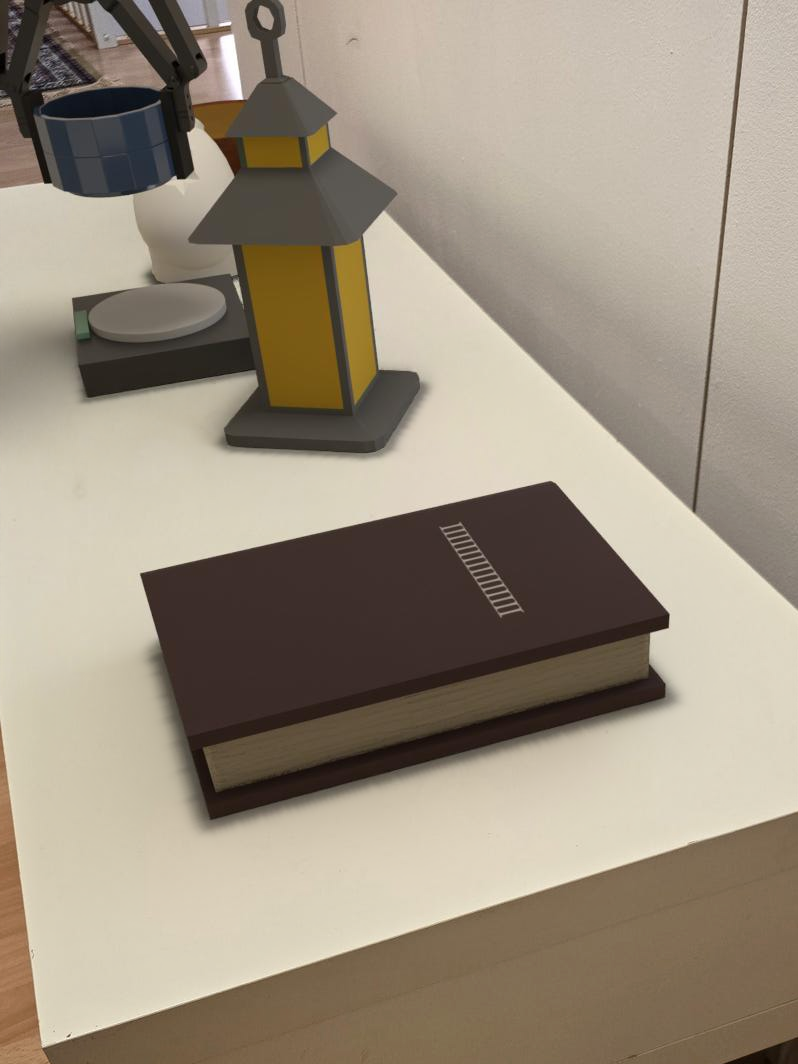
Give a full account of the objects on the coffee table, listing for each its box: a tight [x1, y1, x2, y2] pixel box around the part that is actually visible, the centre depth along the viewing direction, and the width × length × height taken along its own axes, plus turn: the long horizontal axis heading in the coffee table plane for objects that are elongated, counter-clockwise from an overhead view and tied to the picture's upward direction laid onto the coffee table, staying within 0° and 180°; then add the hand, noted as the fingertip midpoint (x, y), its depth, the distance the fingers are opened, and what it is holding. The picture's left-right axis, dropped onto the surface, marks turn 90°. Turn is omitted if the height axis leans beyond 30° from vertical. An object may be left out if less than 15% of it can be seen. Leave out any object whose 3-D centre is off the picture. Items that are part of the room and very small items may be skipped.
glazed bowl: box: [33, 84, 176, 199], centre depth 103 cm, size 11×11×6 cm
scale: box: [71, 274, 255, 398], centre depth 118 cm, size 16×18×4 cm
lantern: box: [188, 0, 421, 453], centre depth 96 cm, size 14×14×30 cm
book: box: [139, 480, 671, 820], centre depth 76 cm, size 28×20×6 cm
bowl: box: [192, 99, 248, 177], centre depth 146 cm, size 18×18×10 cm
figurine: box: [132, 118, 238, 284], centre depth 128 cm, size 11×11×15 cm
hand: (119, 177), depth 105 cm, fingers closed on glazed bowl, 11 cm apart
